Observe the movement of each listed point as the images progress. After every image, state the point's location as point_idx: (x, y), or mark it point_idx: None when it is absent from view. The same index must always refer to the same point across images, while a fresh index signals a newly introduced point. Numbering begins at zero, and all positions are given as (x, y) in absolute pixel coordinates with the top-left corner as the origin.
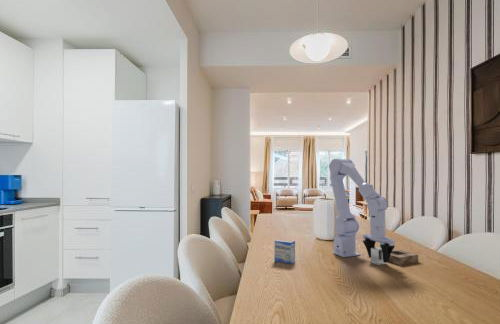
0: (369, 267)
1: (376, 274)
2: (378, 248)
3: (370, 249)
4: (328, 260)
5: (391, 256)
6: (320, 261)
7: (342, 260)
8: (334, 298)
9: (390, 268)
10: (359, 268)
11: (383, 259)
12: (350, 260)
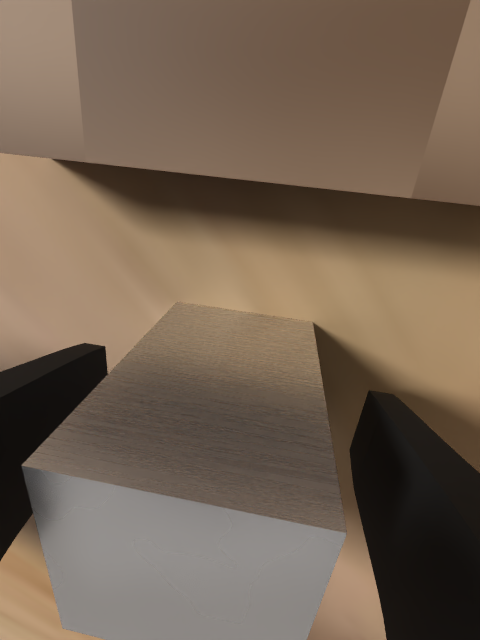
0: None
1: None
2: (167, 582)
3: (8, 491)
4: (4, 580)
5: (342, 188)
6: (15, 617)
7: (28, 527)
8: None
9: (450, 437)
10: None
11: (363, 495)
12: None
